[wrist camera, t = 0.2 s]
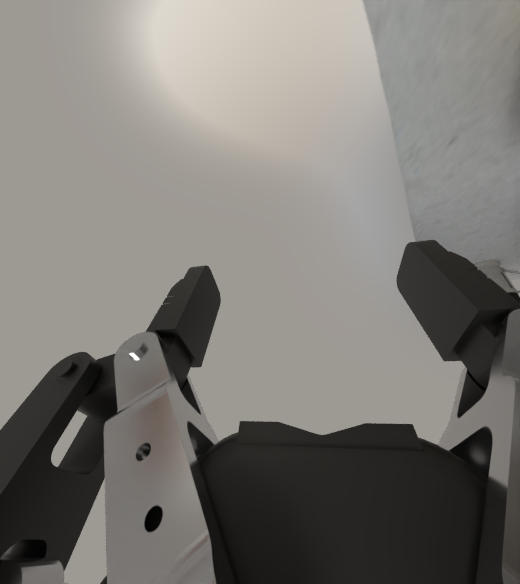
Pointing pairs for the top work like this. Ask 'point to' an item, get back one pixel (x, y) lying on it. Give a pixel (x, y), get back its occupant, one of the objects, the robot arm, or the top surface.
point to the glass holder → (498, 276)
